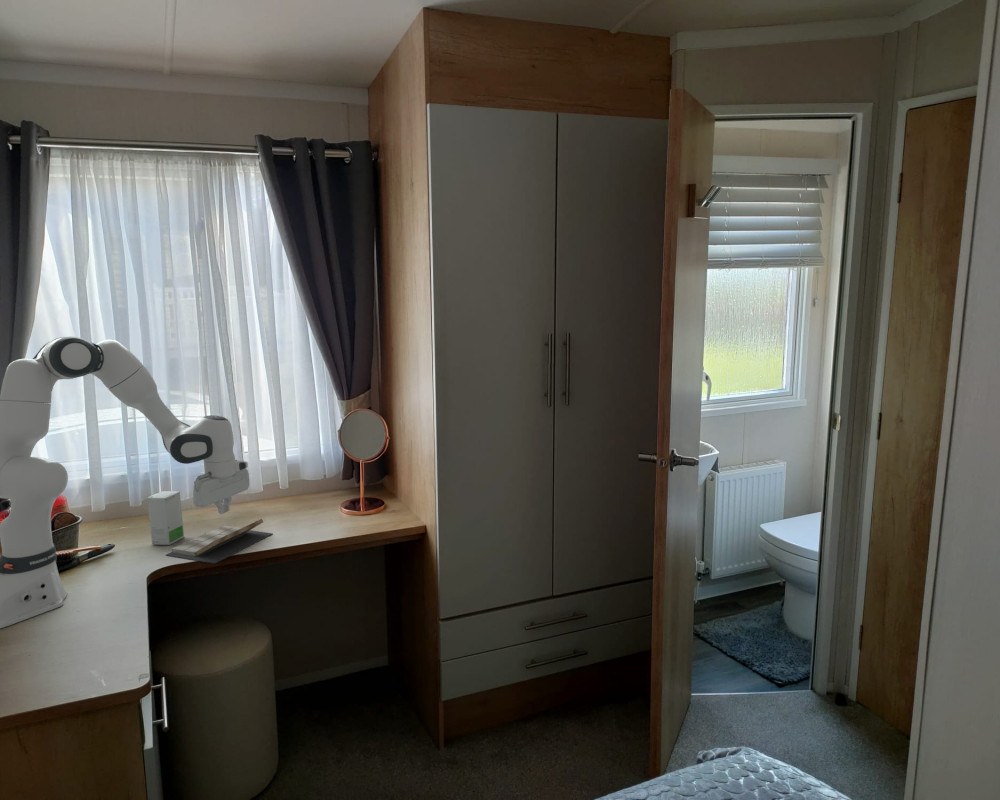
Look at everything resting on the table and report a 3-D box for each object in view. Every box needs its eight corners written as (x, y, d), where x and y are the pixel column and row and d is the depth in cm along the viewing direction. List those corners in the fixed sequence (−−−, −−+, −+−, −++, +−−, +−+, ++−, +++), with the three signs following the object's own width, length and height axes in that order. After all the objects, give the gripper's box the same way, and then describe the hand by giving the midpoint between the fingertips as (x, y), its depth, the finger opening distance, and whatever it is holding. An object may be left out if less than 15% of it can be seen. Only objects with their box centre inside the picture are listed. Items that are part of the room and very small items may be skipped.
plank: (213, 545, 213) (211, 542, 213) (197, 555, 217) (195, 551, 217) (263, 522, 234) (261, 518, 234) (247, 531, 237) (245, 528, 237)
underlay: (214, 563, 212) (214, 562, 212) (165, 555, 219) (165, 554, 219) (272, 534, 236) (272, 533, 235) (226, 527, 242) (226, 526, 242)
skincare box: (168, 546, 227) (164, 498, 224) (150, 544, 228) (145, 497, 225) (185, 536, 235) (180, 490, 232) (167, 535, 236) (162, 489, 233)
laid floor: (194, 556, 217) (194, 552, 217) (172, 552, 220) (171, 548, 220) (245, 532, 237) (245, 528, 237) (223, 529, 240) (223, 525, 240)
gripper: (202, 478, 206) (206, 524, 209) (251, 461, 225) (254, 503, 227) (185, 476, 208) (190, 522, 211) (235, 459, 227) (238, 501, 230)
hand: (224, 512), depth 219 cm, fingers closed
